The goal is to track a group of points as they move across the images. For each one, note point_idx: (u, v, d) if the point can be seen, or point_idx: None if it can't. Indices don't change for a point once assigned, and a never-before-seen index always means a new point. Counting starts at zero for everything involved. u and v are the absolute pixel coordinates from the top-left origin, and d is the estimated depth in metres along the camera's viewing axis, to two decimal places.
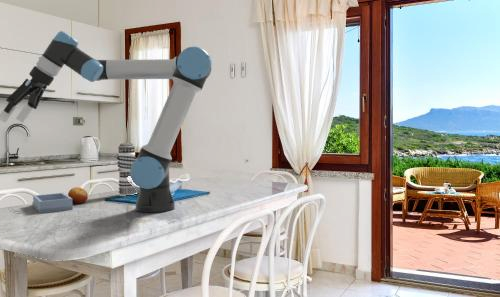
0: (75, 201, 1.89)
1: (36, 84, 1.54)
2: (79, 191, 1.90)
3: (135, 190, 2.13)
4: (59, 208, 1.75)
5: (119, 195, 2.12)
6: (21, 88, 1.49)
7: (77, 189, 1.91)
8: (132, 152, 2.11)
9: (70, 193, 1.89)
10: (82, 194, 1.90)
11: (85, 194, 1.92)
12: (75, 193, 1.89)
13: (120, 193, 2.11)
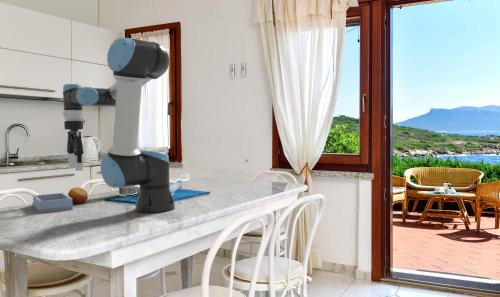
0: (75, 201, 1.89)
1: None
2: (79, 191, 1.90)
3: (135, 190, 2.13)
4: (59, 208, 1.75)
5: (119, 195, 2.12)
6: (77, 140, 1.84)
7: (77, 189, 1.91)
8: None
9: (70, 193, 1.89)
10: (82, 194, 1.90)
11: (85, 194, 1.92)
12: (75, 193, 1.89)
13: (120, 193, 2.11)
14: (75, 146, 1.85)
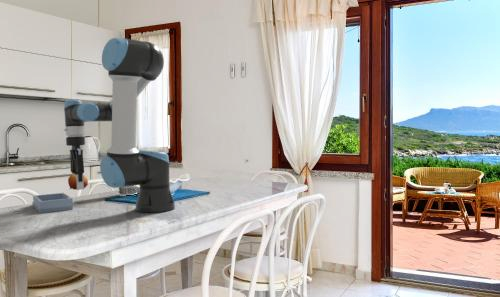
0: (75, 187, 1.89)
1: None
2: None
3: (135, 190, 2.13)
4: (59, 208, 1.75)
5: (119, 195, 2.12)
6: (78, 158, 1.85)
7: None
8: None
9: (70, 179, 1.88)
10: None
11: (85, 180, 1.91)
12: (75, 178, 1.88)
13: (120, 193, 2.11)
14: (76, 164, 1.87)
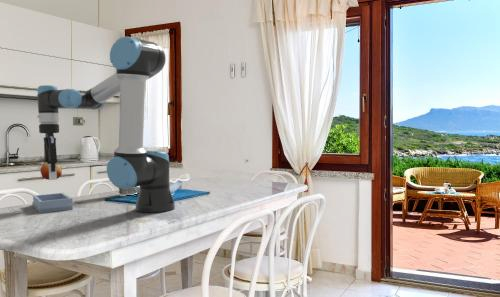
0: (48, 176, 1.79)
1: (53, 135, 1.80)
2: None
3: (135, 190, 2.13)
4: (59, 208, 1.75)
5: (119, 195, 2.12)
6: (51, 147, 1.76)
7: None
8: None
9: (42, 168, 1.79)
10: None
11: (59, 169, 1.82)
12: (48, 168, 1.78)
13: (120, 193, 2.11)
14: (49, 153, 1.77)
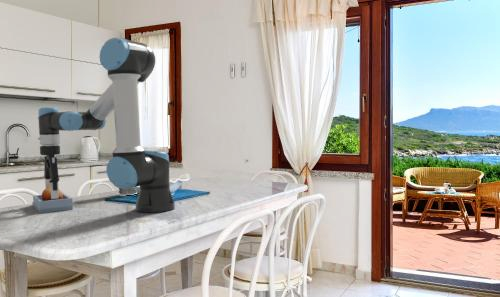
0: None
1: (54, 157, 1.80)
2: None
3: (135, 190, 2.13)
4: (59, 208, 1.75)
5: (119, 195, 2.12)
6: (52, 166, 1.75)
7: None
8: None
9: (44, 193, 1.79)
10: None
11: (60, 194, 1.82)
12: (49, 193, 1.79)
13: (120, 193, 2.11)
14: (51, 173, 1.77)
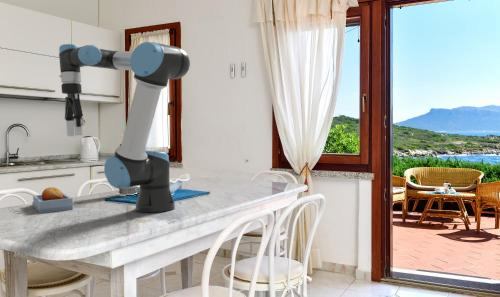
0: None
1: None
2: (53, 191, 1.80)
3: (135, 190, 2.13)
4: (59, 208, 1.75)
5: (119, 195, 2.12)
6: (75, 102, 1.73)
7: (51, 189, 1.81)
8: None
9: (44, 193, 1.79)
10: (56, 194, 1.80)
11: (60, 194, 1.82)
12: (49, 193, 1.79)
13: (120, 193, 2.11)
14: None
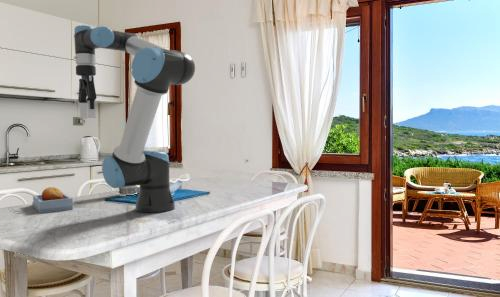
0: None
1: None
2: (53, 191, 1.80)
3: (135, 190, 2.13)
4: (59, 208, 1.75)
5: (119, 195, 2.12)
6: (89, 84, 1.72)
7: (51, 189, 1.81)
8: None
9: (44, 193, 1.79)
10: (56, 194, 1.80)
11: (60, 194, 1.82)
12: (49, 193, 1.79)
13: (120, 193, 2.11)
14: (87, 91, 1.73)
